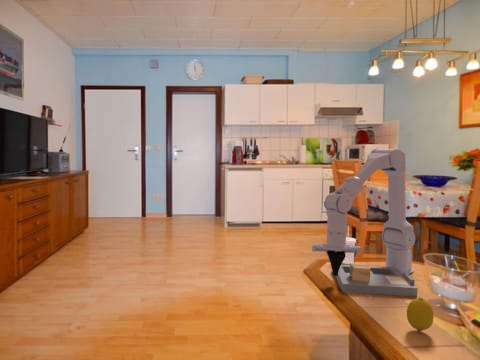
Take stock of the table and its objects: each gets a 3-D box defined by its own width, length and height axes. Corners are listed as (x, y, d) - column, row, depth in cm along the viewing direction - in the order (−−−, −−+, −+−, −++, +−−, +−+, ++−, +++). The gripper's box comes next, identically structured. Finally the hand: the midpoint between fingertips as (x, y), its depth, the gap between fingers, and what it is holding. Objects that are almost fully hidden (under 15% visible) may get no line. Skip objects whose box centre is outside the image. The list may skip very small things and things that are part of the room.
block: (349, 275, 115) (350, 262, 115) (365, 276, 115) (366, 263, 115) (352, 280, 110) (353, 267, 110) (369, 281, 110) (370, 268, 110)
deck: (332, 271, 127) (333, 260, 127) (395, 274, 125) (395, 262, 125) (342, 292, 107) (343, 279, 107) (417, 296, 105) (417, 282, 105)
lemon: (436, 338, 81) (437, 303, 80) (409, 335, 82) (411, 301, 81) (428, 327, 86) (430, 294, 85) (403, 324, 87) (404, 292, 87)
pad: (384, 276, 115) (384, 276, 115) (402, 277, 115) (402, 277, 115) (391, 284, 108) (391, 283, 108) (410, 285, 108) (410, 284, 108)
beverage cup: (349, 265, 135) (350, 228, 134) (335, 261, 139) (336, 225, 138) (358, 262, 138) (360, 226, 137) (345, 259, 143) (346, 223, 142)
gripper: (314, 233, 109) (312, 277, 110) (363, 235, 108) (361, 280, 109) (311, 228, 116) (310, 270, 117) (358, 230, 115) (356, 272, 116)
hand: (335, 274), depth 113 cm, fingers closed
